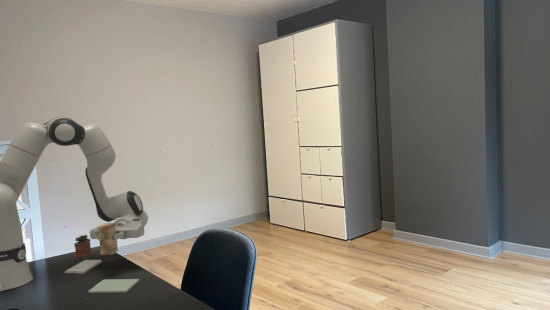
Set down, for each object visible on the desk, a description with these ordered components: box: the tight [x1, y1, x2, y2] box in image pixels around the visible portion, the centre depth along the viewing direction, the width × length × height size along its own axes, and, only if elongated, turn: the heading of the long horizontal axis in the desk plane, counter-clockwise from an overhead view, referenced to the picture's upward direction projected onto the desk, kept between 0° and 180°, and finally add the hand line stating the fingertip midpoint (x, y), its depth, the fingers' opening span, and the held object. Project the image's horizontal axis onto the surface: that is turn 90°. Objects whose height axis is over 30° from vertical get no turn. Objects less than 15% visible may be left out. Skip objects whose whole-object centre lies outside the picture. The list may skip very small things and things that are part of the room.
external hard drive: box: [64, 259, 103, 275], centre depth 171 cm, size 2×8×12 cm
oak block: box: [97, 222, 119, 256], centre depth 159 cm, size 4×4×11 cm
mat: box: [87, 278, 140, 294], centre depth 148 cm, size 14×10×1 cm
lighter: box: [73, 234, 93, 262], centre depth 183 cm, size 8×3×10 cm, turn 162°
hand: (106, 238), depth 158 cm, fingers closed on oak block, 4 cm apart
